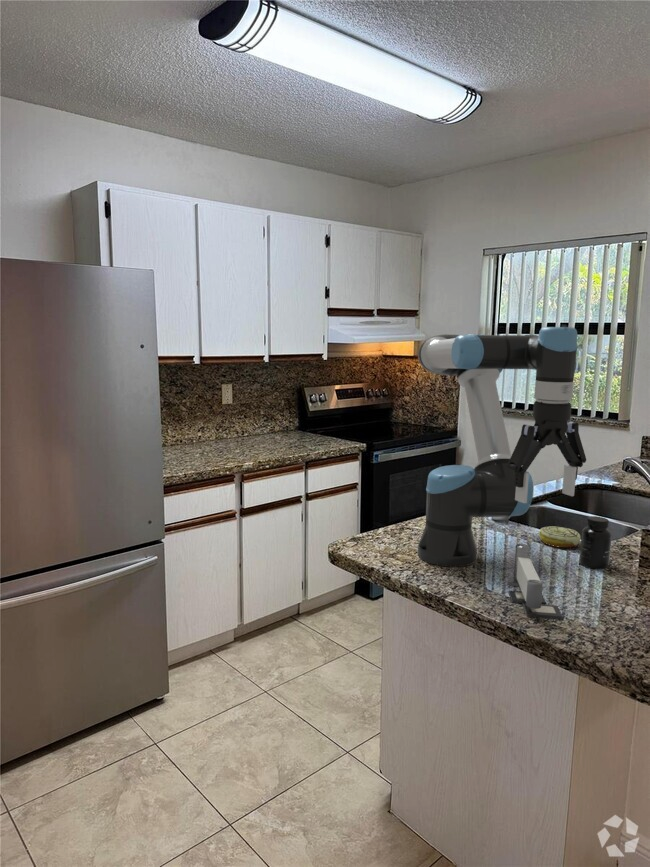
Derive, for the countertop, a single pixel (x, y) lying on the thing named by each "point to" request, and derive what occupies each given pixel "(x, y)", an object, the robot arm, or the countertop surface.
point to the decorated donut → (559, 536)
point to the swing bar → (529, 583)
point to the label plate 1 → (520, 597)
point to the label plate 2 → (544, 611)
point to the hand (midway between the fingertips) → (544, 498)
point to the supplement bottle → (596, 543)
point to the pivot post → (520, 551)
